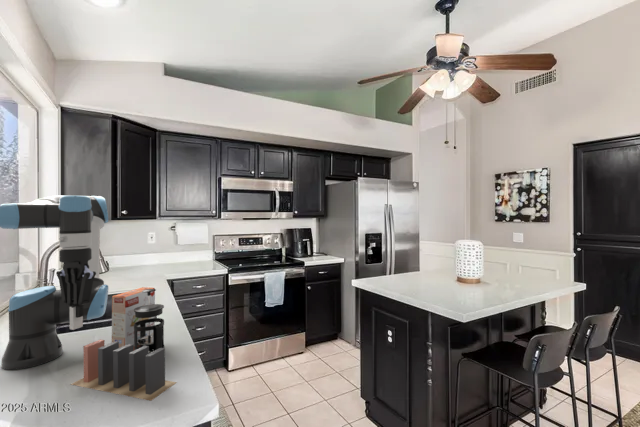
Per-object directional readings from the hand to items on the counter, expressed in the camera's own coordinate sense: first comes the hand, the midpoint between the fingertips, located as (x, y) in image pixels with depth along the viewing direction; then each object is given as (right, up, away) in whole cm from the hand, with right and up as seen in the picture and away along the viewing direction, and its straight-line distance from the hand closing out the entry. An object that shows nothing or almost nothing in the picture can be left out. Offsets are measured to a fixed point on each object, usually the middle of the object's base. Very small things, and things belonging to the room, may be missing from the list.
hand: (76, 327), depth 93 cm
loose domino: (+7, -14, -2) cm, 15 cm away
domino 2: (+17, -14, -5) cm, 22 cm away
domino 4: (+28, -14, -8) cm, 32 cm away
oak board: (+17, -15, -5) cm, 23 cm away
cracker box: (+6, -15, +19) cm, 25 cm away
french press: (+15, -15, +12) cm, 25 cm away
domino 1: (+12, -14, -3) cm, 18 cm away
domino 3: (+22, -14, -7) cm, 27 cm away
